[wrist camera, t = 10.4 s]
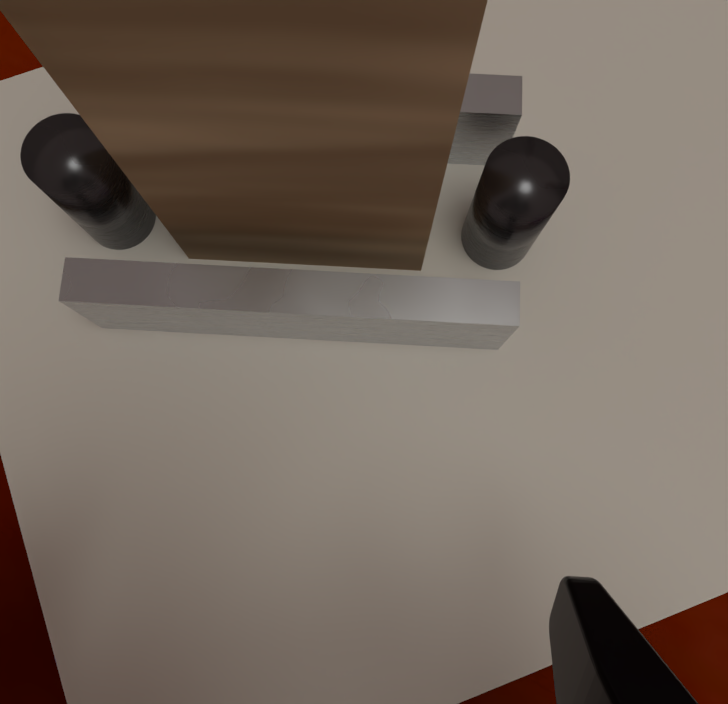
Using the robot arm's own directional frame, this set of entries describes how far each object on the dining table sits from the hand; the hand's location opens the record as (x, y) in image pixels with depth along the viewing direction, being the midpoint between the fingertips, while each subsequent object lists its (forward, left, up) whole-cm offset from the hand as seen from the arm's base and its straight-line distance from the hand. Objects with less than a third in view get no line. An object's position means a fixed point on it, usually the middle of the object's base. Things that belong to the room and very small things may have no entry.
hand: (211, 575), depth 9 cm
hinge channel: (+3, +7, -8) cm, 11 cm away
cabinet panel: (+6, +5, -9) cm, 11 cm away
